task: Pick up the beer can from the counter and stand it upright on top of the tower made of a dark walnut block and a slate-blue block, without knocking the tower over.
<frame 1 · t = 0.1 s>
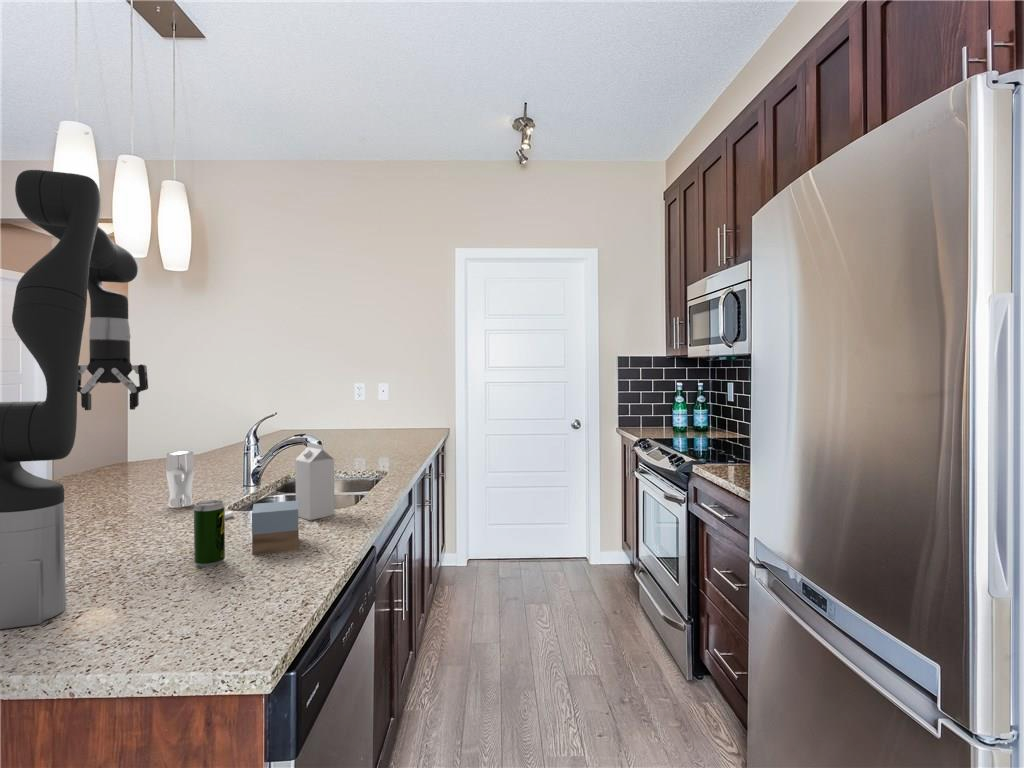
hand: (110, 409, 128), 29 cm above the countertop, tool pointing down, fingers open, 8 cm apart
walnut block: (276, 547, 122), on the countertop, touching slate-blue block
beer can: (209, 564, 111), on the countertop
teacup and saucer: (214, 523, 142), on the countertop
milk carton: (315, 516, 148), on the countertop
slate-blue block: (275, 527, 122), point 4 cm above the countertop, touching walnut block
beer glass: (180, 506, 159), on the countertop
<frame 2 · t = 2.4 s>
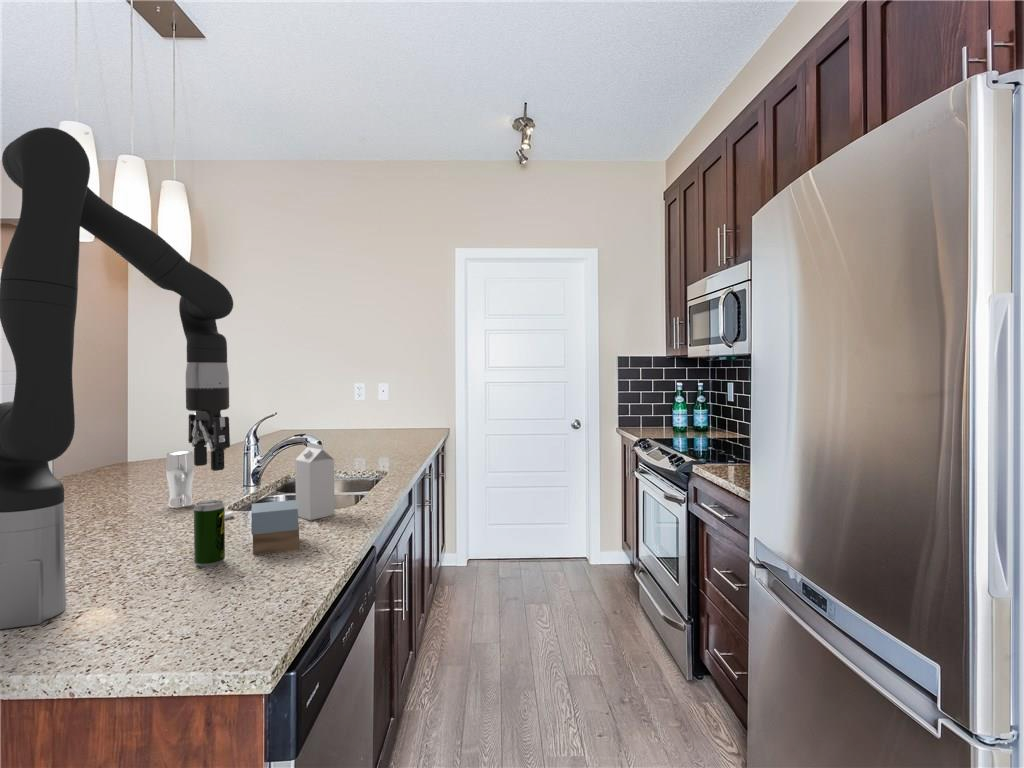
hand: (208, 467, 111), 19 cm above the countertop, tool pointing down, fingers open, 8 cm apart
walnut block: (276, 546, 122), on the countertop
slate-blue block: (274, 526, 122), point 4 cm above the countertop
everything else where it was.
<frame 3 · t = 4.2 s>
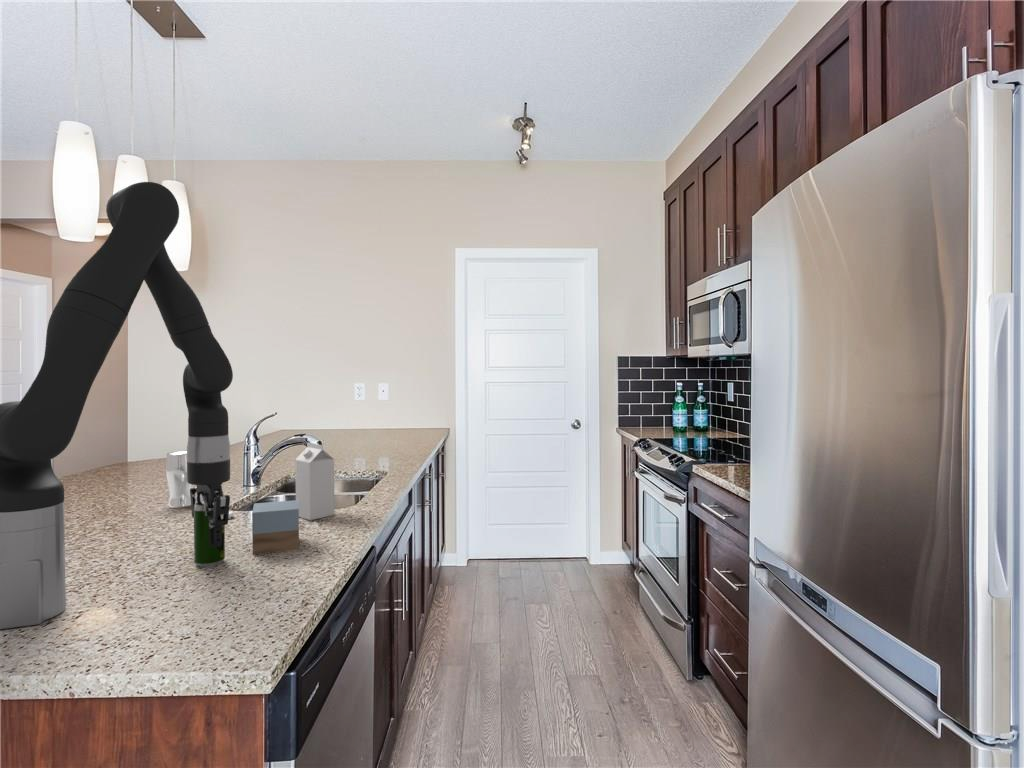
hand: (209, 542, 111), 4 cm above the countertop, tool pointing down, fingers closed on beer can, 5 cm apart
walnut block: (276, 547, 122), on the countertop, touching slate-blue block
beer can: (209, 564, 111), on the countertop, touching gripper
slate-blue block: (276, 526, 122), point 4 cm above the countertop, touching walnut block
everything else where it was.
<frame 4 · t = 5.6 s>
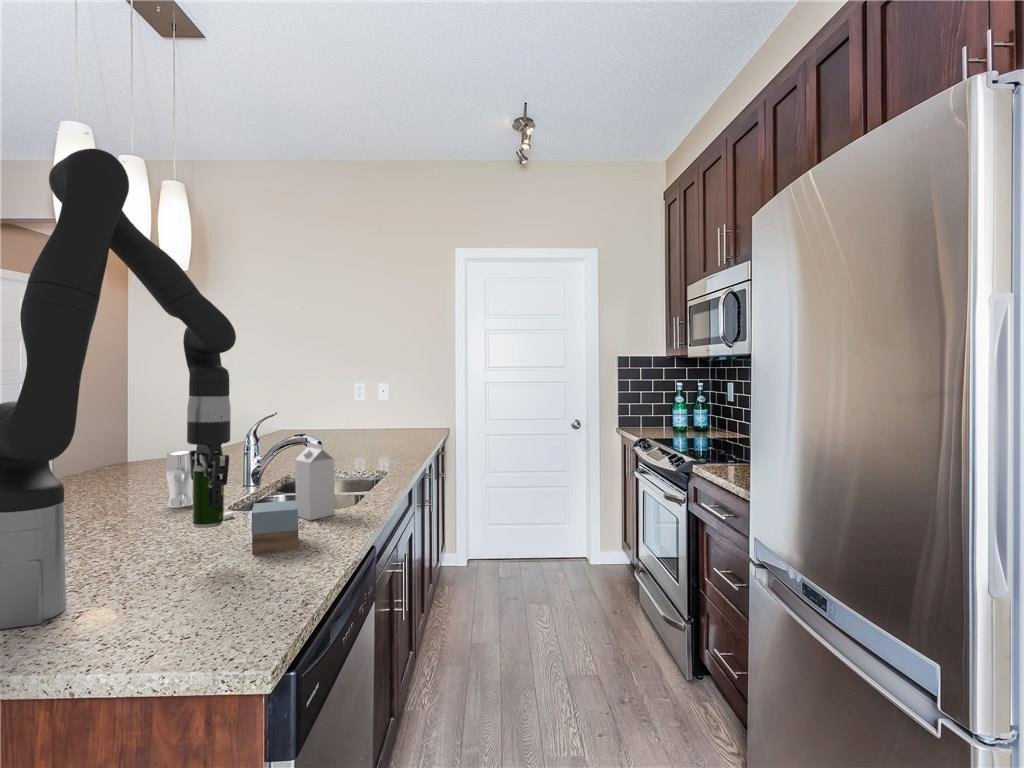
hand: (208, 504, 110), 12 cm above the countertop, tool pointing down, fingers closed on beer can, 5 cm apart
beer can: (208, 526, 110), point 8 cm above the countertop, touching gripper
everything else where it was.
when the fingers open (13 cm above the countertop, at t = 11.4 s): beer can stays where it is, resting on slate-blue block.
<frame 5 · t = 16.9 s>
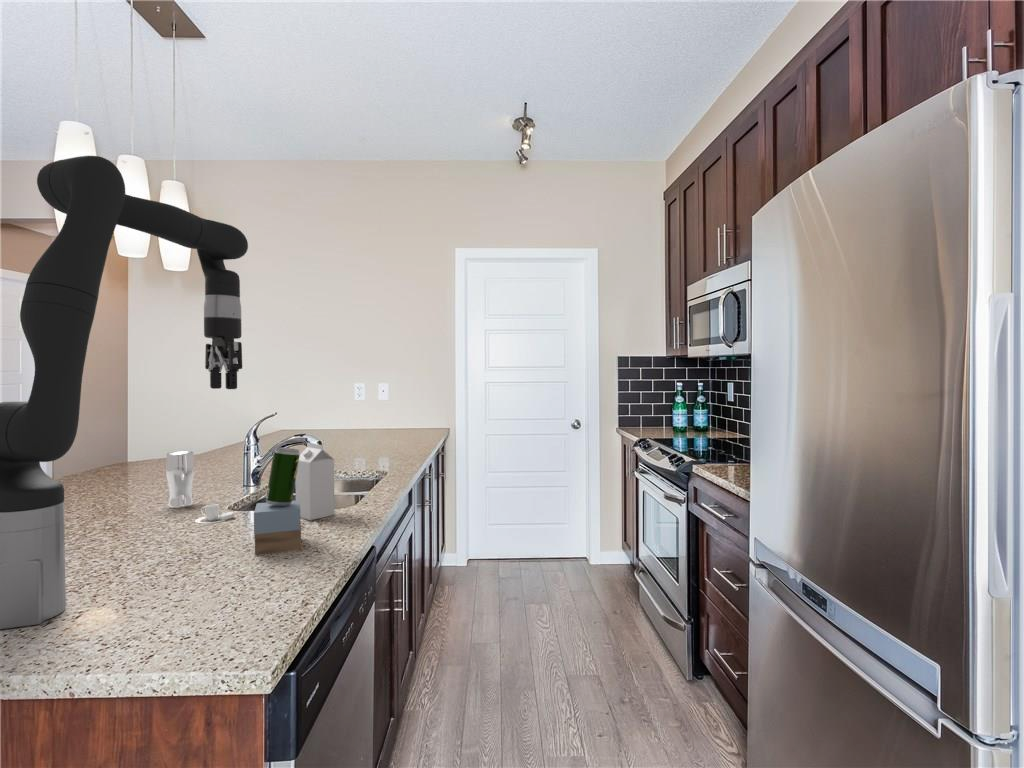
hand: (223, 388, 126), 34 cm above the countertop, tool pointing down, fingers open, 8 cm apart
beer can: (278, 504, 122), point 9 cm above the countertop, touching slate-blue block
slate-blue block: (278, 526, 122), point 4 cm above the countertop, touching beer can, walnut block
at the end: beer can 0.1 cm off-centre on the walnut block, point 9.2 cm above the walnut block's base; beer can tilted 9°; slate-blue block 0.1 cm off-centre on the walnut block, point 4.5 cm above the walnut block's base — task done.
